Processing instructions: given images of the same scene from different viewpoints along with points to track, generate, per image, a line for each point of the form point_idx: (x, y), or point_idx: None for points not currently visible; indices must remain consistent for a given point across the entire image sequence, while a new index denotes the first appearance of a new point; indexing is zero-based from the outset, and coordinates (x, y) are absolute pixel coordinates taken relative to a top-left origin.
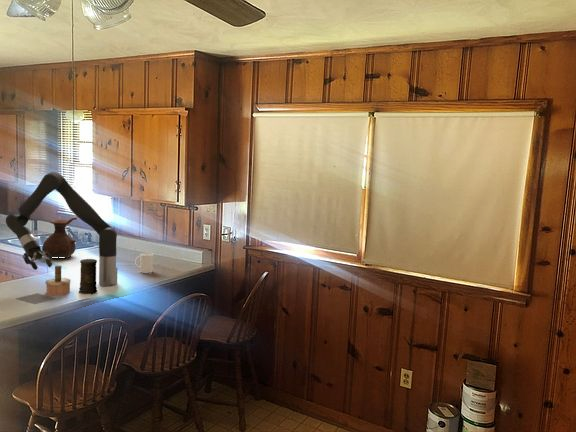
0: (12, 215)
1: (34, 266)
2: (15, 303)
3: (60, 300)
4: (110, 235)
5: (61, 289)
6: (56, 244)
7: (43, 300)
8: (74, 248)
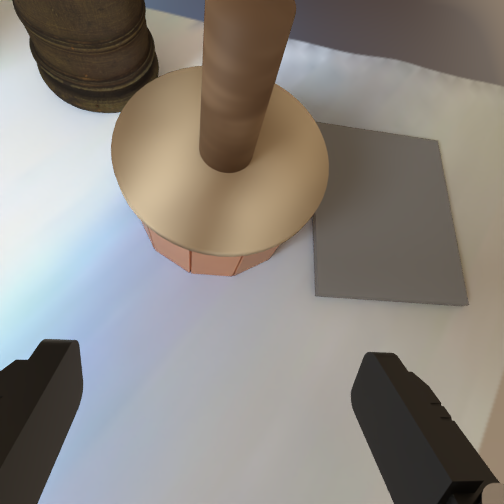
0: None
1: (425, 394)
2: (486, 244)
3: (307, 100)
4: None
5: None
6: None
7: (379, 148)
8: None
